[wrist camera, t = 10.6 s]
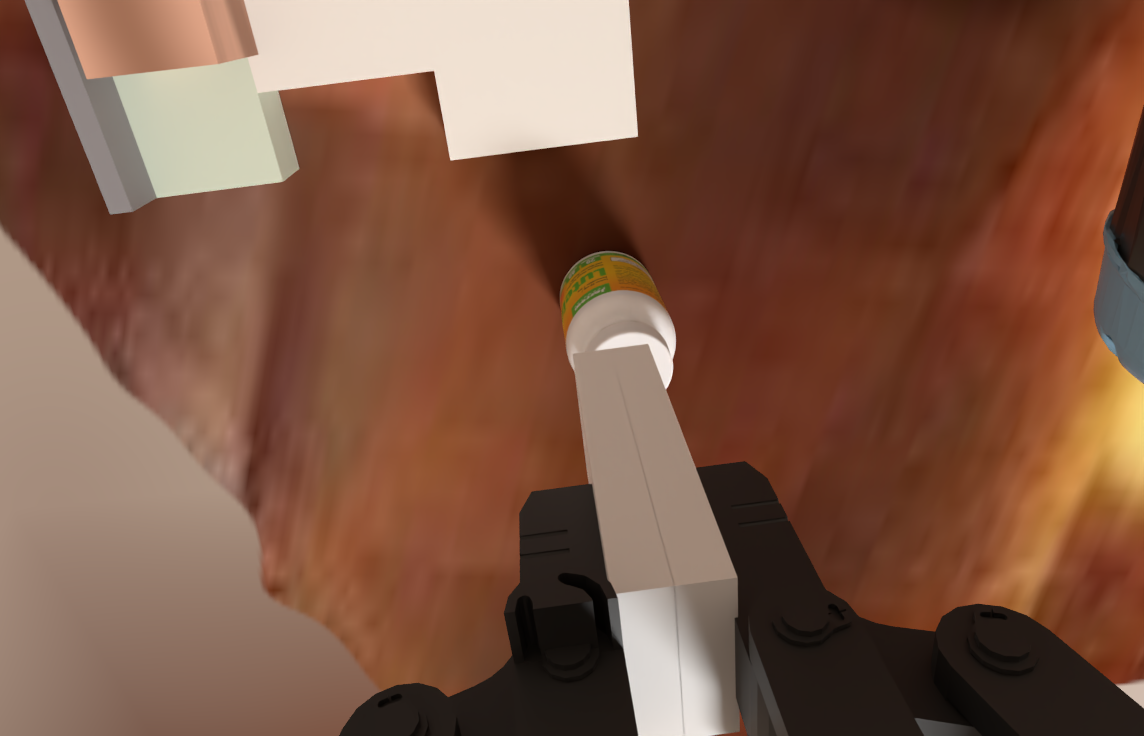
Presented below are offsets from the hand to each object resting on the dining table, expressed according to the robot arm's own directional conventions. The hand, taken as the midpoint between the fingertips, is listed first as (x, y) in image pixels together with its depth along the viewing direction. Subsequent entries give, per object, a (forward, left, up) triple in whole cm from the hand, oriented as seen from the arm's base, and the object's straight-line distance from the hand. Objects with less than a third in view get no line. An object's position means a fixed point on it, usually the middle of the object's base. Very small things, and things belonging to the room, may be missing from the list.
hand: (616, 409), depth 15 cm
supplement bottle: (-2, +8, -27) cm, 28 cm away
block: (+15, -9, -23) cm, 29 cm away
